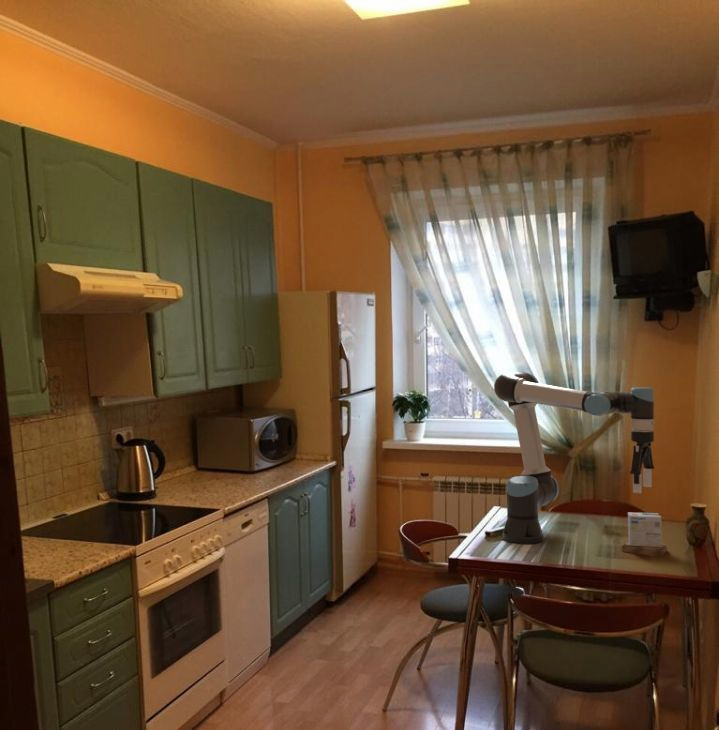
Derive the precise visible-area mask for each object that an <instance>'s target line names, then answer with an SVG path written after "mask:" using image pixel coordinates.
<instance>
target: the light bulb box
mask: <svg viewBox="0 0 719 730" xmlns="http://www.w3.org/2000/svg"><path fill="white" fill-rule="evenodd" d="M662 525H663V524H662V516H661V515H660V514H659V513H656V512H631V511H630V512H629V511H628V512H627V532H628V535H627V536H628V537H627V538H628V540H627V541H629V543H630V545H631V546H650V547H662V544H663V539H662V538H663V536H662V535H663V534H662V531H663V529H662Z"/></svg>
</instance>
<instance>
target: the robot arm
mask: <svg viewBox="0 0 719 730" xmlns="http://www.w3.org/2000/svg"><path fill="white" fill-rule="evenodd" d="M493 391H494V393H495V395H496V397H498V399H500V400H501V401H503V402H507V404H508V408H509V409H510V410H512V412H513V416H514V421H515V426H516V432H517V437H518V442H519V443H518V444H519V449H520V453H521V458H522V464H523V471H522V472H521V473H520V474H521V475H520V476H513V477H510V478H508V480H507V483H506V512H507V513H506V514H507V516H506V521H505V524H504V528H503V531H502V539H503V540H504V541H505V542H509V543H513V544H521V545H533V544H539V543H542V542H543V541H544V533H543V529H542V527H541V523H540V521H539V508H541V507H544V506H548V505H550V504H551V503H553V502H554V501H555V500H556V499H557V497H558V496H559V492H560V487H559V483H558V481H557V479H556V478H555V477H554V476H553V475H552V470H551V469H550V468H549V467H548V466H546V460H545V455H544V450H543V443H542V439H541V434H540V433H541V432H540V428H539V424H538V418H537V412H536V406H537V404H539V405H544V406H549V407H554V408H561V409H566V410H572V411H576V412H583V413H588V414H590V415H592V416H596V417H597V416H598V417H600V416H604V415H609V414H615V413H616V414H630V429H631V432H630V441H632V442H633V443H634V442H635V443H636V445H633V451H632V452H633V454H632V460H631V468H630V471H629V474H631V475H632V493H634V494H642V490H643V489H642V486H643V487H645V488H652V481H653V480H652V477H653V476H652V470H655V465H654V461H653V460H654V459H653V454H652V453H653V452H652V443H653V442H654V441H655V432H654V431H653V430H655V429H654V425H656V421H654V419H655V417H654V416H655V415H654V411H655V410H654V409H655V397H654V389H653V388H652V387H644V386H643V387H642V386H641V387H637V386H635V387H631V388H630V392H619V391H618V392H617V391H615V392H614V391H601V392H599V393H598V392H592V391H587V390H580V389H575V388H568V387H561V386H555V385H550V384H543V383H539V380H538V379H537V377H536V376H534V375H533V374H531V373H530V372H525V371H515V372H504V373H502V374H500V375H499V376H498V377H497V378H496V380H495V381H494V384H493ZM643 467H644V468H643ZM642 468H643V470H642ZM642 472H643V473H642ZM641 473H642V474H641ZM642 476H643V477H642ZM642 483H643V485H642Z"/></svg>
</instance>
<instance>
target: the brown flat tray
mask: <svg viewBox="0 0 719 730" xmlns="http://www.w3.org/2000/svg"><path fill="white" fill-rule="evenodd" d="M621 548H622V549H621V551H622V552H624V553H625V552H626V553H633V554H637V555H643V556H650V557H656V558H657V557H658V558H662V557H663V556H664V555H665V554H666V553H667V552H668V545H666V543H665V544H664V543H662V547H650V546H631V545H630V543H629V541H628V540H627V541H626V542H625V543H623V544H622V546H621Z"/></svg>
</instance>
